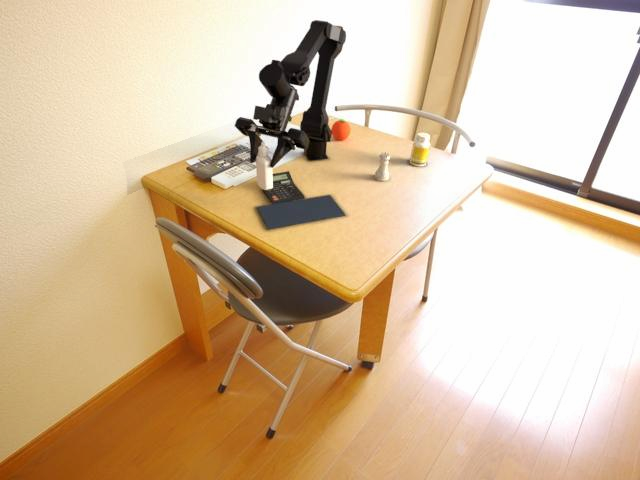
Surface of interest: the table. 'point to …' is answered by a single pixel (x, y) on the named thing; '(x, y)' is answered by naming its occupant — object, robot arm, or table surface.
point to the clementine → (340, 130)
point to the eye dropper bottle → (264, 168)
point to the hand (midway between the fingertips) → (261, 164)
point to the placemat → (299, 211)
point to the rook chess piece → (383, 168)
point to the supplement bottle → (420, 149)
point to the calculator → (283, 189)
